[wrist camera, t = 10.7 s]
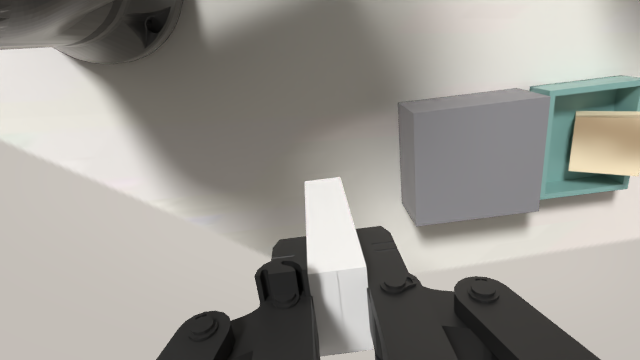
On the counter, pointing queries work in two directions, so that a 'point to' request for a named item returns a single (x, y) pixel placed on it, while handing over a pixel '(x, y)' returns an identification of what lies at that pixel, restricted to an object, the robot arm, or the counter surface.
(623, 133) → the tile
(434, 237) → the counter surface
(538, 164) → the gray rectangular block
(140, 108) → the counter surface
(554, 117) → the box
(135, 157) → the counter surface
